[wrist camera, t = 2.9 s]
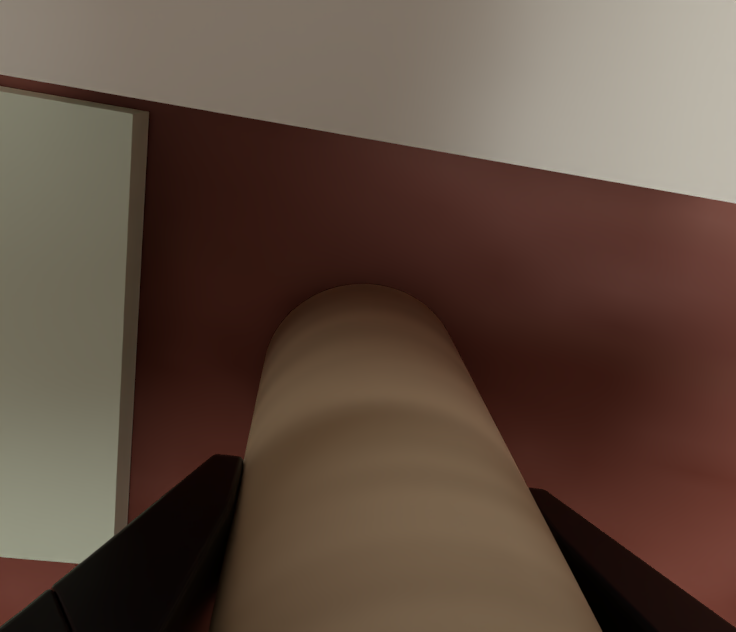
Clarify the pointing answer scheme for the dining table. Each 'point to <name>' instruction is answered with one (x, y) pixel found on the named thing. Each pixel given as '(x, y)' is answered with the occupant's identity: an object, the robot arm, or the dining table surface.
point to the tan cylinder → (383, 488)
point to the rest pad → (67, 320)
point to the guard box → (424, 74)
